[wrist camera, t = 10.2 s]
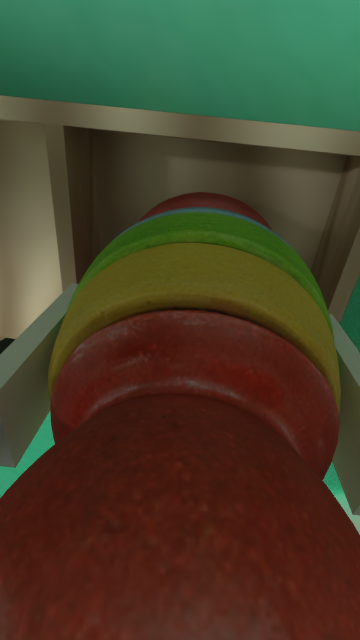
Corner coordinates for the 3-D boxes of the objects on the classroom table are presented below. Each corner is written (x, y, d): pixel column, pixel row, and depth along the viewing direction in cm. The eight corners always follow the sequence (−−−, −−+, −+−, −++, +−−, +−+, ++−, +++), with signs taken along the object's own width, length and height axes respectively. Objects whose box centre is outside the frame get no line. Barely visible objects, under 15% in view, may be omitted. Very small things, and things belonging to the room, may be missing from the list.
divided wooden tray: (-76, 330, 24) (-131, 365, 20) (-170, 85, 17) (-286, 66, 13) (285, 376, 23) (299, 422, 20) (364, 139, 16) (415, 137, 12)
